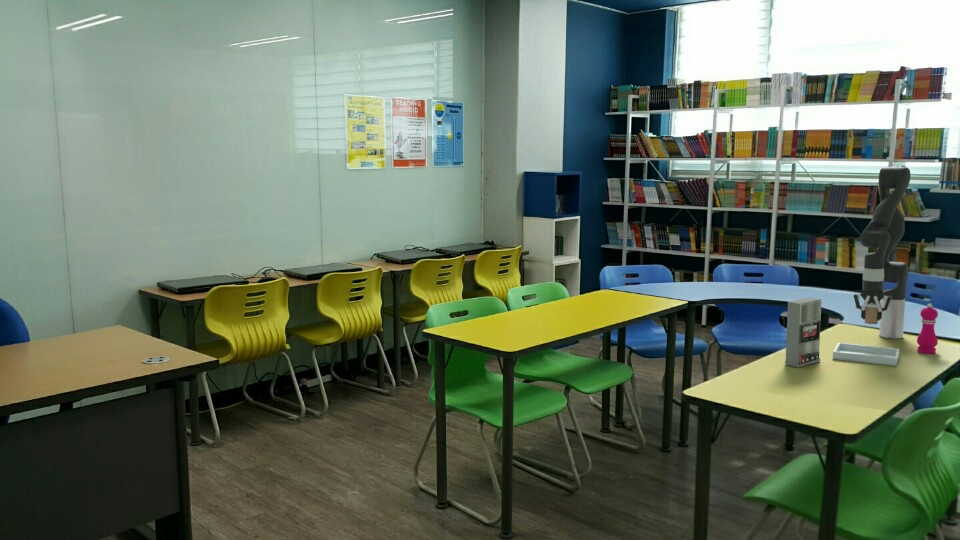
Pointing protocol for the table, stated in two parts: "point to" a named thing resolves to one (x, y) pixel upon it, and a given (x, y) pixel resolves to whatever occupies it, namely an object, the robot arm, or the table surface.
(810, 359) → the cassette tape recorder
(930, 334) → the pepper mill
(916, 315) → the table surface
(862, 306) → the robot arm
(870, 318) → the shaker
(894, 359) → the tray
